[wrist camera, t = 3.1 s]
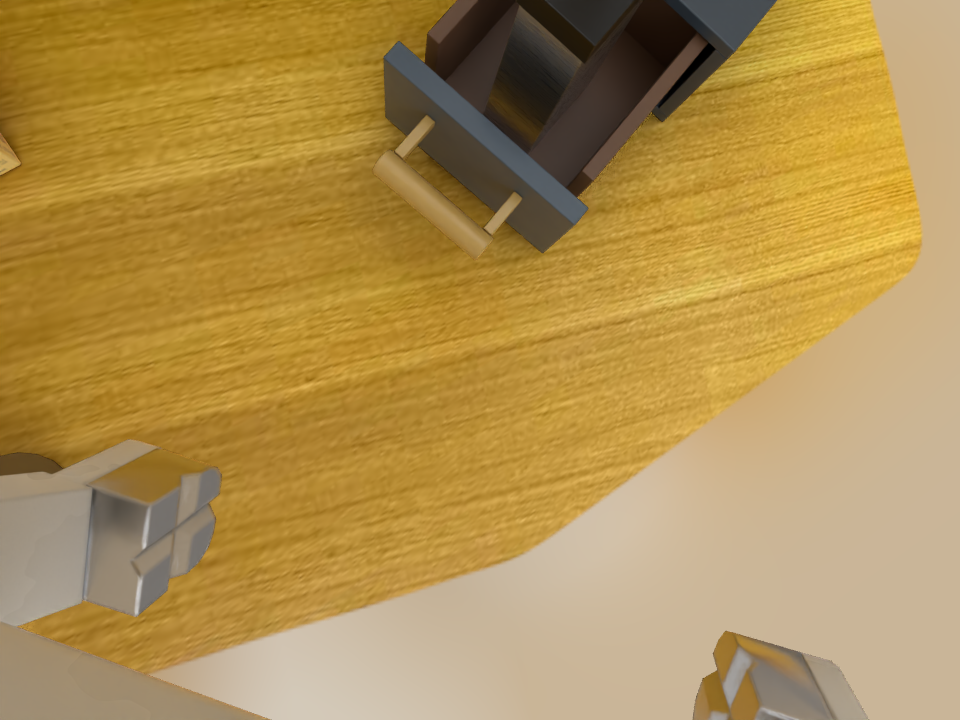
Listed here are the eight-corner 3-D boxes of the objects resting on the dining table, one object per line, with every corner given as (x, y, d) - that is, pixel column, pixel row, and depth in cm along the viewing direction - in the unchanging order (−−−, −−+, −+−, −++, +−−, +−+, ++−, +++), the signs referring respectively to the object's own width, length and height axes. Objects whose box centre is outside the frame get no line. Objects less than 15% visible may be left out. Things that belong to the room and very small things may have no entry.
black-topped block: (478, 116, 36) (522, -21, 24) (543, 42, 37) (618, -128, 25) (527, 159, 37) (595, 46, 24) (591, 85, 37) (688, -62, 25)
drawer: (499, 305, 37) (523, 287, 30) (338, 168, 36) (326, 118, 29) (682, 84, 39) (742, 22, 33) (536, -51, 38) (566, -144, 32)
